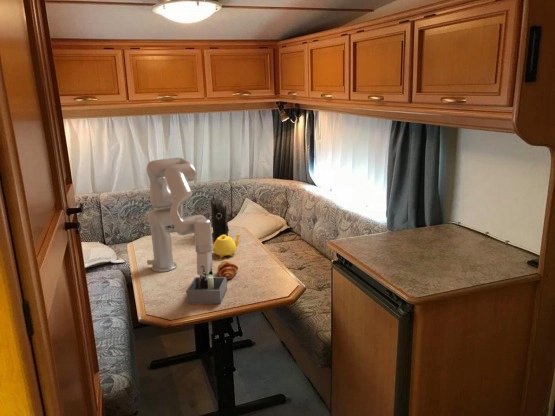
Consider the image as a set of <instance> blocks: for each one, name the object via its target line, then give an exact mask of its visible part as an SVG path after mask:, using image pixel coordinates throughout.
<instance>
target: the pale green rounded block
mask: <svg viewBox="0 0 555 416" xmlns="http://www.w3.org/2000/svg"><path fill="white" fill-rule="evenodd" d="M203 276H204V277H205V275H203ZM213 277H214V275H210V274H208V275H207V280H208V289H201V288H200V289H201V290H214V280H213Z"/></svg>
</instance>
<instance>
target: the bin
mask: <svg viewBox="0 0 555 416" xmlns="http://www.w3.org/2000/svg"><path fill="white" fill-rule="evenodd" d="M213 280H214V290H201V289H200V276H195V277H194V278H193V280H192V281H191V282H190V284H189V286H188V287H187V289H186V292H185V293H186V302H187V303H186V304H206V305H207V304H209V305H210V304H211V305H212V304H215V305H216V304H219V305H220V304H222V302H223V299H224V298H225V295H226V293H227V291H228V282H227V280H228V279H226V277H221V276H213Z"/></svg>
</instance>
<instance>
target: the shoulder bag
mask: <svg viewBox="0 0 555 416" xmlns="http://www.w3.org/2000/svg"><path fill="white" fill-rule="evenodd" d="M212 198H213V199H212V200H211V201H210V208H211V209H210V210H211V228H212V240H213V242H215V241H216V239H217V238H218V237H220V236H222V235H226V236H229V231H230V229H229V226H228V224H229V223H228V215H227V204H226V203H225V201H224V200H223V199H220V196H219V193H213V194H212Z"/></svg>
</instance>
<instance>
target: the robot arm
mask: <svg viewBox="0 0 555 416" xmlns="http://www.w3.org/2000/svg"><path fill="white" fill-rule="evenodd" d="M146 165H147V166H146V175H148V176H147V177H148V179H149V186H150V187H149V194H150V195H149V196H150V197H149V198H150V204H151V205H152V207H153V208H156V209H152V210H150V211H149V212H148V213H147V221H148V225H149V229H150V235H151V241H152V242H151V243H152V253H153V258H152V259H147V260H146V263H147V265H149V266H151V265H152V266H151V270H152V271H154V272H158V273H165V272H170V271H172V270H175V269H176V268H177V265H178V264H177V263H176V262H175V261H174V257H173V256H174V255H173V247H172V245H173V244H172V237H171V233H170V231H169V230H168V229H167V228H166V227H168V226H172V225H173V228H174V230H175V232H176V233H177V234H178V235H179V236H186V235H190V234H191V235H192V234H193V235H194V247H195V253H196V270H197V271H196V275H198V276H199V277H200V288H201V289H208V280H207V275H208V274H210V275H213V273H214V272H213V255H212V252H214V251H213V245H214V242H213V237H212V233H213V227H212V220H210V219H209V218H208V219H207V218H206V217H205V216H204V214H203V215H202V214H196V215H190V216H186V217H184V215H183V214H184V213H183V209H184V208H183V207H184V206H183V204H184V203H185V202H187V201H188V200H190V199H191V197H192V196H193V193H192V190H191V188H190V187H191V186H190V185H189V182H193V181H195V180H196V179H197V171H196V167H194V165H193V164H192V163H191V162H190V161H188V160H186V159H184V158H182V157H171V158H163V159H162V158H161V159H155V160H151V161H148V162H147V164H146ZM203 275H205V277H204V276H203ZM213 276H214V275H213Z"/></svg>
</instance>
